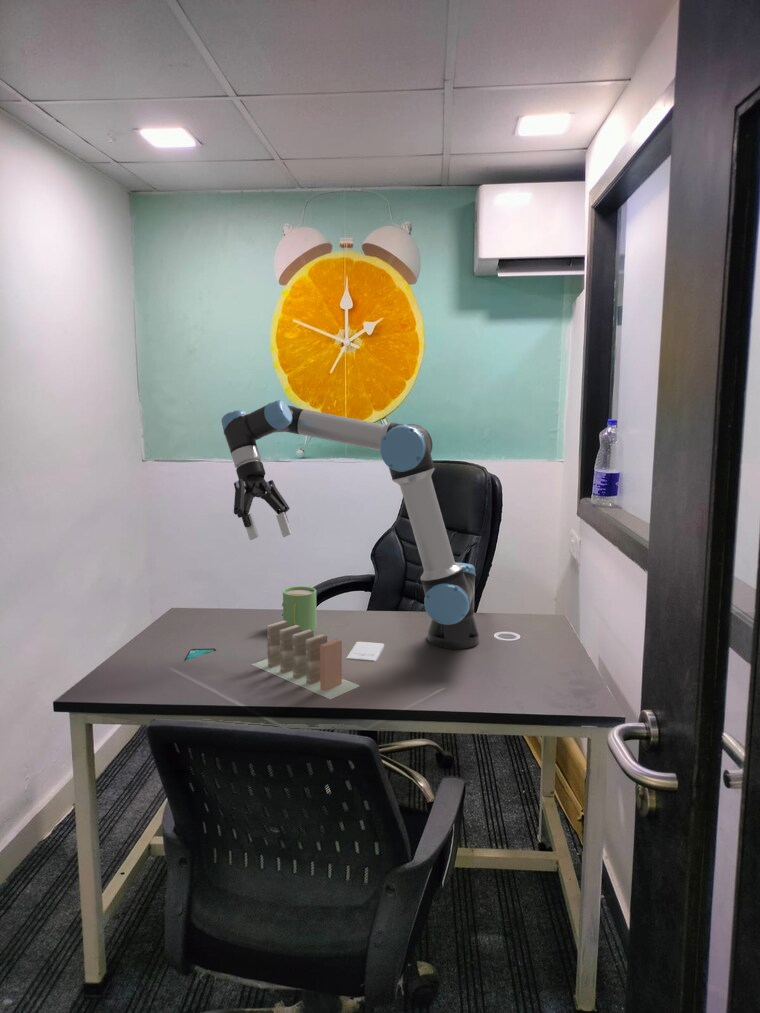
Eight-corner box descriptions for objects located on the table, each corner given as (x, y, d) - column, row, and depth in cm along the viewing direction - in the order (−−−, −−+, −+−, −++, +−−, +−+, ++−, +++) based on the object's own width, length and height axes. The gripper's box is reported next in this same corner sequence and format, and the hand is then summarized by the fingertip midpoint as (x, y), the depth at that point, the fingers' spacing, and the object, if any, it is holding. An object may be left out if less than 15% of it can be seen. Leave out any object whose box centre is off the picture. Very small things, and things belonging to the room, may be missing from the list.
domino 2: (280, 671, 164) (279, 630, 162) (297, 665, 168) (296, 624, 166) (284, 673, 163) (283, 631, 161) (301, 667, 167) (300, 626, 165)
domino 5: (320, 688, 154) (320, 645, 152) (337, 681, 158) (337, 638, 157) (324, 690, 153) (324, 646, 151) (341, 683, 157) (341, 640, 155)
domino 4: (306, 682, 157) (305, 639, 156) (323, 675, 162) (322, 633, 160) (310, 684, 156) (310, 641, 155) (327, 677, 160) (327, 635, 159)
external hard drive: (384, 648, 183) (375, 665, 171) (356, 646, 185) (345, 663, 173) (384, 643, 183) (375, 659, 171) (356, 641, 185) (345, 657, 173)
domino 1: (267, 666, 167) (267, 625, 166) (284, 660, 172) (284, 620, 170) (271, 667, 166) (271, 627, 165) (288, 661, 170) (288, 621, 169)
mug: (287, 622, 204) (287, 585, 202) (319, 624, 202) (319, 587, 200) (275, 636, 191) (275, 597, 189) (310, 638, 190) (309, 598, 188)
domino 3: (293, 677, 161) (292, 634, 159) (309, 670, 165) (309, 629, 163) (297, 678, 160) (296, 636, 158) (314, 672, 164) (313, 630, 162)
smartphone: (178, 670, 165) (190, 648, 180) (178, 673, 165) (190, 651, 180) (206, 669, 166) (216, 648, 180) (206, 672, 166) (216, 650, 181)
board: (251, 666, 169) (251, 664, 169) (281, 655, 176) (281, 653, 176) (330, 701, 149) (330, 699, 149) (360, 688, 156) (360, 685, 156)
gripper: (268, 471, 191) (290, 538, 188) (206, 469, 170) (229, 544, 166) (287, 461, 188) (309, 529, 184) (225, 457, 166) (249, 534, 163)
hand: (271, 537), depth 175 cm, fingers open, 13 cm apart
